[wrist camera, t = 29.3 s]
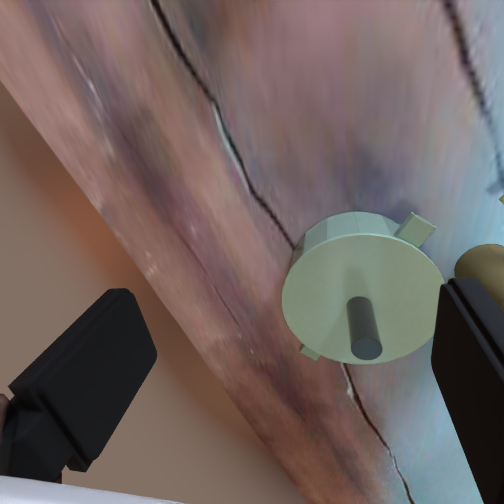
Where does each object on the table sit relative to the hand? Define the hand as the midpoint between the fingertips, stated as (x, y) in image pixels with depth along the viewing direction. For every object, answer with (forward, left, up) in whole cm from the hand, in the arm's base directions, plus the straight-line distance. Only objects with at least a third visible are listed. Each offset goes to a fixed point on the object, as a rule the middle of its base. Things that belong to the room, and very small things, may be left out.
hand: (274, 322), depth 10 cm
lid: (+9, +12, -21) cm, 25 cm away
